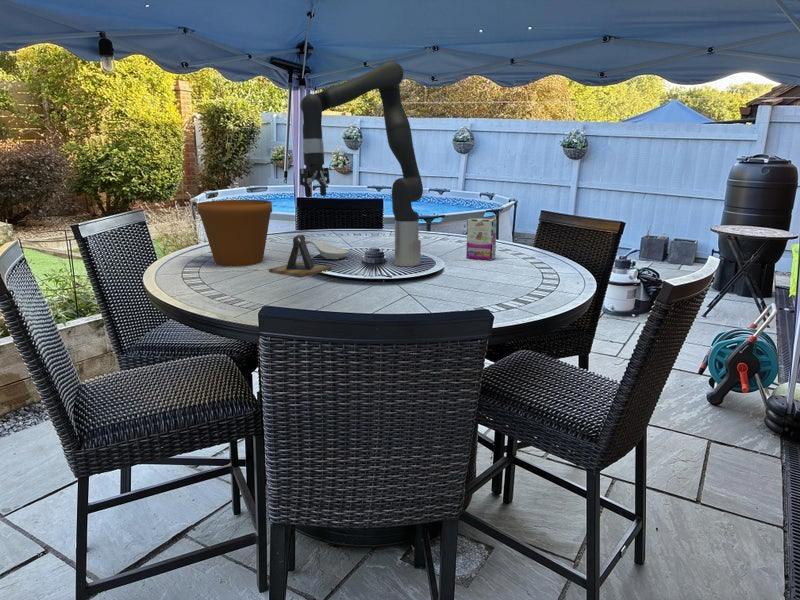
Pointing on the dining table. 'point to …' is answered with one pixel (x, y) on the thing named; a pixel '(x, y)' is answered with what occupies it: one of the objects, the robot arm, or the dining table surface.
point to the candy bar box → (481, 239)
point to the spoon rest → (327, 249)
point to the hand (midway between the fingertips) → (315, 196)
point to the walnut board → (298, 272)
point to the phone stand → (304, 252)
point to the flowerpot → (236, 230)
